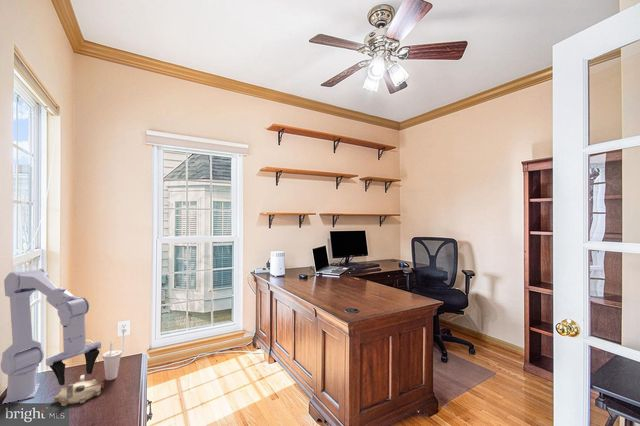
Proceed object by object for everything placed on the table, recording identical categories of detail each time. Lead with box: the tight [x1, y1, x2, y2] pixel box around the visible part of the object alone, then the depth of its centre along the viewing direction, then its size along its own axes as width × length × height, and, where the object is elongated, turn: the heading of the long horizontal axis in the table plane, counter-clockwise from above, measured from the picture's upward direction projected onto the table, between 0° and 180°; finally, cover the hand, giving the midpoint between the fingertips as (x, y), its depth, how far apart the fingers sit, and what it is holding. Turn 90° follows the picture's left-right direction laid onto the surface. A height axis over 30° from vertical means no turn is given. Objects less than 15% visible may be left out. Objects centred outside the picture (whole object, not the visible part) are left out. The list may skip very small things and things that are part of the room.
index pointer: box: [79, 374, 86, 382], centre depth 116 cm, size 3×1×2 cm, turn 34°
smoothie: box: [102, 342, 123, 381], centre depth 120 cm, size 6×6×14 cm
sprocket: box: [53, 378, 105, 407], centre depth 109 cm, size 14×14×6 cm
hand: (76, 378), depth 99 cm, fingers open, 7 cm apart
